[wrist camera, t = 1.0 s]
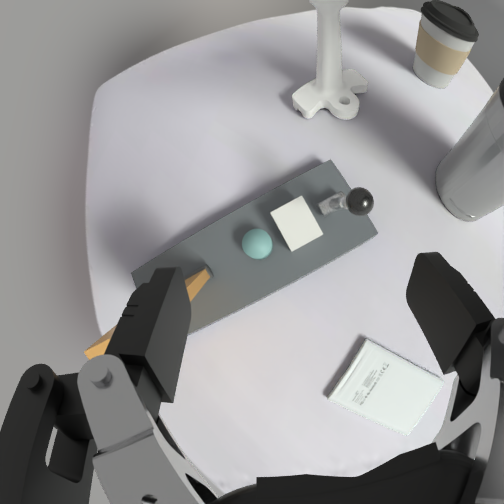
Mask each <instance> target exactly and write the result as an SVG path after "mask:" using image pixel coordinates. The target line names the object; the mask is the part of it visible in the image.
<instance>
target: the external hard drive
mask: <svg viewBox="0 0 504 504" xmlns="http://www.w3.org/2000/svg"><path fill="white" fill-rule="evenodd" d="M443 384H444V380H442V379H441V378H439V377H437V376H435V375H433V374H431V373H429V372H427V371H425V370H424V369H422V368H420V367H418V366H416V365H414V364H412V363H410V362H409V361H407V360H405V359H403V358H401V357H399V356H398V355H396V354H394V353H392V352H390V351H388V350H387V349H385V348H383V347H381V346H379V345H377V344H376V343H374V342H372V341H370V340H368V339H367V338H366V339H365V341H364V342H363V344H362V346H361V347H360V349H359V351H358V352H357V354H356V355H355V357H354V359H353V360H352V362H351V363H350V366H349V367H348V369H347V370H346V372H345V373H344V374H343V375H342V377H341V378H340V380H339V381H338V383H337V384H336V386H335V387H334V388H333V390H332V391H331V393H330V394H329V395H328V397H327V399H328V400H329V401H331V402H333V403H335V404H337V405H339V406H341V407H343V408H345V409H347V410H349V411H351V412H353V413H355V414H357V415H360V416H362V417H364V418H366V419H368V420H370V421H373V422H375V423H377V424H379V425H382V426H384V427H386V428H388V429H391V430H393V431H396V432H398V433H401V434H403V435H406V436H407V435H408V434H409V433H410V432H411V431H412V429H413V428H414V427H415V425H416V424H417V423H418V421H419V420H420V419H421V417H422V416H423V415H424V413H425V412H426V410H427V409H428V407H429V406H430V404H431V403H432V401H433V400H434V398H435V397H436V395H437V394H438V392H439V391H440V389H441V387H442V385H443Z"/></svg>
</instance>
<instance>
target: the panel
mask: <svg viewBox="0 0 504 504" xmlns="http://www.w3.org/2000/svg"><path fill="white" fill-rule="evenodd" d="M340 191H342V192H343V193H344V194H345V195H346V196H347V194H348V193H349V192H350V191H351V188H350V187H349V185H348V184H347V182H346V181H345V179H344V178H343V176H342V175H341V173H340V172H339V170H338V169H337V168H336V166H335V165H334V163H333V162H332V161H331V160H329V161H327V162H325V163H323V164H321V165H319V166H317V167H315V168H313V169H311V170H309V171H307V172H305V173H303V174H301V175H299V176H297V177H296V178H294V179H292V180H290V181H288V182H286V183H284V184H282V185H280V186H279V187H277V188H275V189H273V190H271V191H269V192H268V193H266V194H264V195H262V196H260V197H258V198H257V199H255V200H253V201H251V202H249V203H248V204H246V205H244V206H242V207H240V208H239V209H237V210H235V211H233V212H232V213H230V214H228V215H226V216H224V217H223V218H221V219H219V220H218V221H216V222H214V223H212V224H211V225H209V226H207V227H205V228H204V229H202V230H200V231H199V232H197V233H195V234H194V235H192V236H190V237H189V238H187V239H185V240H183V241H182V242H180V243H179V244H177V245H175V246H174V247H172V248H170V249H169V250H167V251H165V252H164V253H162V254H160V255H159V256H157V257H156V258H154V259H152V260H151V261H149V262H148V263H146V264H144V265H143V266H141V267H140V268H138V269H136V270H135V271H133V272H132V273H131V274H132V277H133V280H134V283H135V286H136V288H138V287H139V286H140V285H141V284H142V283H149V281H150V279H151V277H152V275H153V273H154V271H155V269H156V268H157V267H175V266H179V267H180V268H181V270H182V272H183V276H184V277H185V276H187V275H188V274H190V273H192V272H194V271H196V270H197V269H199V268H201V267H203V266H204V265H206V264H207V265H208V266H209V267H210V268H211V270H212V272H213V275H214V277H213V278H212V279H210V280H208V281H207V282H206V283H205V284H204V285H203V287H202V288H201V289H200V290H199V292H198V293H197V294H196V296H195V297H194V298H193V299H192V301H191V302H190V303H191V322H190V326H189V331H188V335H190V334H192V333H194V332H196V331H198V330H201V329H203V328H205V327H207V326H209V325H211V324H213V323H215V322H217V321H219V320H221V319H223V318H225V317H227V316H229V315H231V314H233V313H235V312H237V311H239V310H241V309H243V308H245V307H247V306H249V305H251V304H253V303H255V302H257V301H259V300H261V299H263V298H265V297H267V296H269V295H271V294H273V293H275V292H277V291H278V290H280V289H282V288H284V287H286V286H288V285H290V284H292V283H294V282H295V281H297V280H299V279H301V278H303V277H305V276H307V275H308V274H310V273H312V272H314V271H316V270H318V269H319V268H321V267H323V266H325V265H327V264H328V263H330V262H332V261H334V260H335V259H337V258H339V257H341V256H343V255H344V254H346V253H348V252H350V251H351V250H353V249H355V248H356V247H358V246H360V245H362V244H363V243H365V242H367V241H368V240H370V239H372V238H374V237H375V236H376V235H377V234H378V232H377V230H376V229H375V227H374V225H373V223H372V222H371V220H370V218H369V217H368V215H365V216H356V215H353V214H352V213H351V212H350V211H349V210H337V211H335V212H333V213H331V214H329V215H327V216H326V217H323V216H322V214H321V213H320V211H319V209H318V207H317V203H319V202H321V201H323V200H325V199H327V198H329V197H330V196H332V195H334V194H336V193H338V192H340ZM300 196H302V197H303V198H304V200H305V202H306V204H307V205H308V207H309V209H310V211H311V213H312V214H313V216H314V218H315V220H316V222H317V223H318V225H319V227H320V229H321V231H322V233H323V235H321V236H320V237H318V238H316V239H314V240H312V241H311V242H309V243H307V244H305V245H303V246H301V247H300V248H298V249H296V250H294V251H292V252H291V250H290V248H289V247H288V245H287V243H286V241H285V239H284V237H283V236H282V234H281V232H280V230H279V228H278V226H277V225H276V223H275V221H274V219H273V217H272V216H271V213H270V212H272V211H274V210H276V209H278V208H280V207H281V206H283V205H285V204H287V203H289V202H291V201H292V200H294V199H296V198H298V197H300ZM252 229H262V230H264V231H266V232H267V233H268V235H269V236H270V238H271V239H272V242H273V250H272V252H271V254H270V255H269V256H268V257H267V258H265V259H262V260H256V259H253V258H251V257H250V256H248V255H247V254H246V253H245V252H244V250H243V248H242V240H243V237H244V235H245V234H246V233H247V232H248V231H250V230H252ZM188 335H187V336H188Z"/></svg>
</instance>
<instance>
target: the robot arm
mask: <svg viewBox="0 0 504 504" xmlns="http://www.w3.org/2000/svg"><path fill="white" fill-rule="evenodd" d="M435 179H436V187H437V191H438V193H439V196H440V198H441V200H442V202H443V203H444V205H445V206H446V208H447V209H448V210H449V211H450V212H451V213H452V214H453V215H454V216H456V217H457V218H459V219H461V220H464V221H476V220H478V219H480V218H481V217H483V216H485V215H487V214H489V213H491V212H493V211H495V210H496V209H498V208H500V207H502V206H503V205H504V78H503V80H502V81H501V83H500V85H499V86H498V88H497V89H496V91H495V92H494V94H493V95H492V96H491V98H490V99H489V101H488V102H487V104H486V105H485V107H484V108H483V109H482V111H481V112H480V113H479V115H478V116H477V117H476V119H475V120H474V121H473V123H472V124H471V125H470V127H469V128H468V129H467V131H466V132H465V133H464V134H463V136H462V137H461V138H460V139H459V141H458V142H457V143H456V144H455V146H454V147H453V148H452V149H451V150H450V152H449V153H448V154H447V155H446V156H445V158H444V159H443V160H442V161H441V163H440V164H439V165H438V168H437V170H436V177H435ZM473 290H474V289H473V288H472V287H471V286H470V284H467V281H466V279H465V278H464V277H463V276H462V275H461V273H460V272H458V271H457V270H456V269H454V268H453V267H451V266H450V265H449V263H448V262H447V261H446V260H445V259H444V258H443V257H442V255H441V254H440V253H438V252H429V253H419V254H418V255H417V257H416V259H415V263H414V266H413V270H412V273H411V276H410V280H409V283H408V286H407V290H406V299H407V303H408V305H409V307H410V309H411V311H412V313H413V314H414V316H415V318H416V320H417V322H418V324H419V325H420V327H421V329H422V331H423V333H424V335H425V337H426V339H427V341H428V343H429V345H430V347H431V349H432V351H433V353H434V355H435V357H436V359H437V361H438V363H439V365H440V368H441V370H442V372H443V374H444V375H445V374H448V373H451V372H454V371H456V372H457V374H458V375H457V376H456V377H455V379H454V382H453V386H452V391H451V395H450V399H449V403H448V407H447V411H446V415H445V418H444V422H443V425H442V427H441V429H440V431H439V433H438V434H437V435H436V437H435V438H434V440H433V442H432V443H431V444H429V445H426V446H423V447H421V448H418V449H415V450H412V451H409V452H406V453H403V454H400V455H398V456H396V457H395V458H393V459H391V460H389V461H388V462H386V463H384V464H382V465H380V466H379V467H377V468H375V469H373V470H371V471H369V472H367V473H365V474H363V475H360V476H357V477H334V476H320V475H309V474H304V475H294V476H280V477H257V484H253V485H249V486H245V487H242V488H239V489H236V490H234V491H232V492H229V493H227V494H225V495H223V496H221V497H220V498H219V497H218V496H217V494H216V493H215V492H214V491H213V489H212V488H211V487H210V486H209V484H208V483H207V482H206V481H205V479H204V478H203V477H202V476H201V474H200V473H199V472H198V471H197V470H196V468H195V467H194V466H193V465H192V464H191V462H190V461H189V460H188V458H187V457H186V455H185V454H184V452H183V451H182V449H181V448H180V446H179V445H178V443H177V442H176V440H175V439H174V437H173V435H172V434H171V432H170V431H169V429H168V427H167V426H166V424H165V422H164V421H163V419H162V417H161V415H160V414H159V409H160V404H161V402H167V403H173V401H174V396H175V391H176V386H177V381H178V376H179V372H180V367H181V362H182V358H183V353H184V348H185V344H186V339H187V335H188V331H189V326H190V322H191V303H190V299H189V295H188V292H187V288H186V284H185V280H184V276H183V272H182V270H181V268H180V267H179V266H175V267H157V268H156V269H155V271H154V273H153V275H152V277H151V279H150V281H149V283H142V284H141V285H140V286H139V287H138V288H137V289H136V290H135V291H134V292H133V293H132V295H131V297H130V299H129V301H128V303H127V307H125V309H124V311H123V313H122V317H120V320H119V322H118V324H117V326H116V328H115V330H114V332H113V335H112V337H111V339H110V341H109V344H108V346H107V348H106V350H105V353H104V355H99V356H96V357H94V358H92V359H90V360H89V361H87V362H86V363H85V364H84V366H83V367H82V368H81V370H80V372H79V373H73V374H65V375H58V376H57V375H56V374H55V373H54V372H53V370H52V369H51V368H50V367H49V366H47V365H45V364H36V365H34V366H32V367H30V368H29V369H28V370H26V371H25V373H24V374H23V376H22V377H21V379H20V381H19V384H18V386H17V388H16V391H15V393H14V396H13V398H12V401H11V403H10V406H9V408H8V411H7V414H6V416H5V419H4V422H3V425H2V428H1V431H0V504H89V497H90V490H91V483H92V476H93V470H94V469H95V471H96V473H97V476H98V479H99V481H100V483H101V485H102V487H103V490H104V491H105V494H106V495H107V498H108V500H109V502H110V504H504V318H497V319H495V318H494V316H493V315H492V314H491V312H490V311H489V309H488V308H487V307H486V305H485V304H484V303H483V301H482V300H481V299H480V297H479V296H478V295H477V293H476V292H474V291H473ZM53 426H54V427H55V428H56V429H57V430H58V431H57V435H56V438H55V442H54V446H53V450H52V454H51V458H50V462H49V466H48V467H47V465H46V462H45V456H46V451H47V448H48V444H49V440H50V437H51V433H52V429H53ZM97 449H98V453H97ZM474 458H475V460H474Z"/></svg>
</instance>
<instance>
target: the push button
mask: <svg viewBox="0 0 504 504" xmlns="http://www.w3.org/2000/svg"><path fill="white" fill-rule="evenodd" d="M242 248H243V250H244V252H245V253H246V254H247V255H248V256H250V257H251V258H253V259H256V260H262V259H265V258H267V257H268V256H269V255H270V254H271V252H272V250H273V242H272V239H271V238H270V236H269V235H268V233H267V232H266V231H264V230H262V229H252V230H250V231H248V232H247V233H246V234H245V235H244V237H243V240H242Z"/></svg>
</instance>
